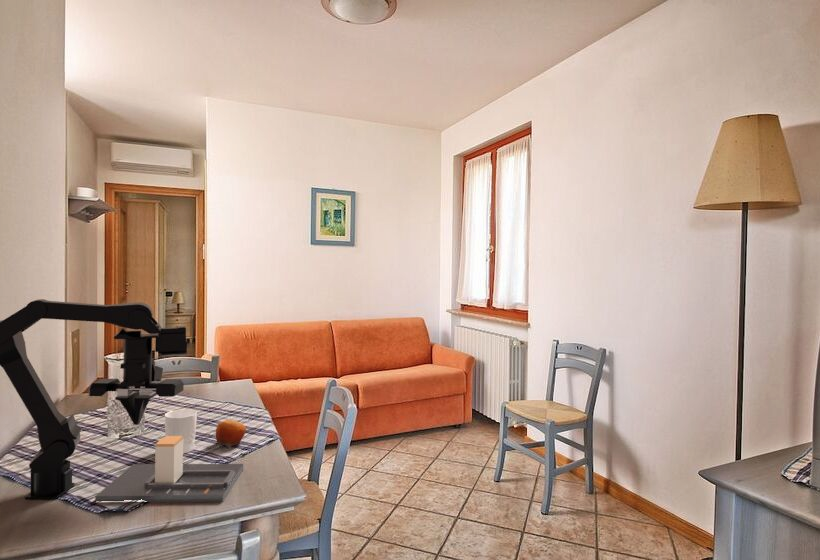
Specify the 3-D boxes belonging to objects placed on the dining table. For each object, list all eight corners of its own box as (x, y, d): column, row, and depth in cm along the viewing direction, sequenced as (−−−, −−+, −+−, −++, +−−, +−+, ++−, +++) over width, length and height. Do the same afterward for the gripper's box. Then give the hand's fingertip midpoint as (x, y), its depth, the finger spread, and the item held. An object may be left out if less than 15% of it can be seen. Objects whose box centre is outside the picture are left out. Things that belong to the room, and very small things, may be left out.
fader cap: (154, 484, 104) (155, 444, 104) (164, 474, 109) (165, 435, 109) (173, 484, 105) (174, 443, 104) (182, 474, 110) (183, 435, 109)
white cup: (183, 457, 124) (184, 419, 124) (157, 453, 125) (157, 416, 125) (202, 446, 132) (203, 410, 131) (177, 443, 133) (178, 407, 133)
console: (95, 503, 99) (95, 492, 99) (133, 470, 115) (133, 461, 115) (223, 501, 101) (223, 491, 101) (243, 469, 117) (243, 460, 117)
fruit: (204, 445, 128) (214, 415, 132) (218, 451, 135) (227, 422, 139) (232, 448, 127) (240, 418, 131) (244, 453, 134) (252, 424, 138)
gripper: (192, 351, 118) (191, 413, 119) (114, 350, 117) (113, 413, 117) (174, 360, 107) (173, 428, 108) (87, 359, 106) (86, 428, 106)
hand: (137, 424), depth 110 cm, fingers closed
